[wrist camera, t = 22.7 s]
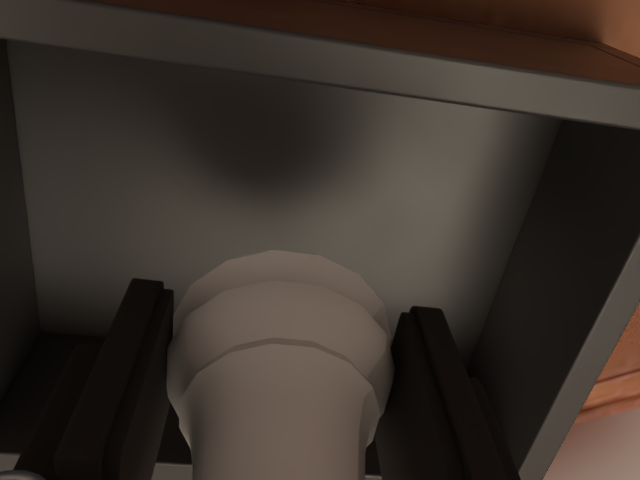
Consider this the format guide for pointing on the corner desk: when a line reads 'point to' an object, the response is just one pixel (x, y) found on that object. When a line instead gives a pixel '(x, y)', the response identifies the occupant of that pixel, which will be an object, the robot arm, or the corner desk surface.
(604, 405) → the corner desk surface
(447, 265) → the charcoal bin
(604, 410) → the corner desk surface
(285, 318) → the rook chess piece
